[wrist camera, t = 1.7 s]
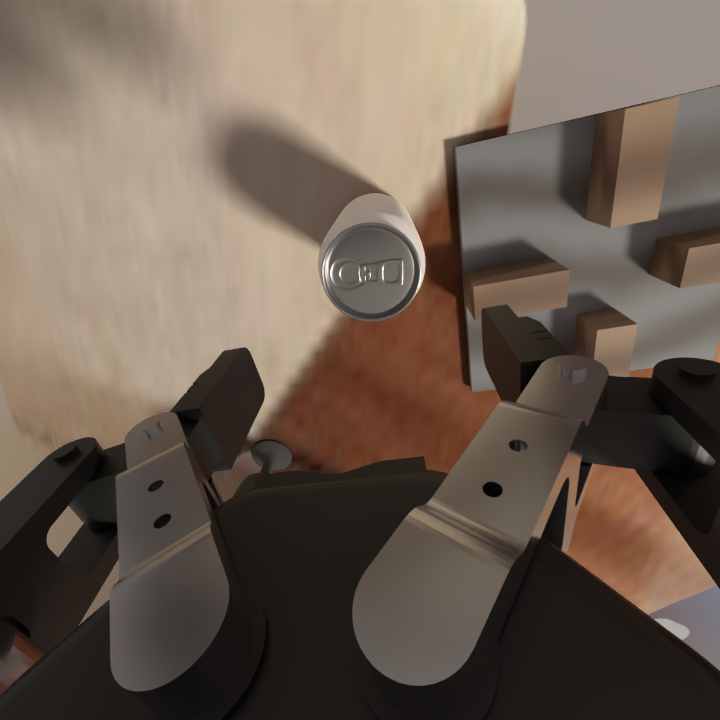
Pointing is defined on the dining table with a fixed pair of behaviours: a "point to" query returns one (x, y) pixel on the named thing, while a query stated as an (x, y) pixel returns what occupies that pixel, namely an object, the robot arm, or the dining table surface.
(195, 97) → the dining table surface
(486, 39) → the dining table surface
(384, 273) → the can
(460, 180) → the crossing block
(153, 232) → the dining table surface
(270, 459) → the sundae
